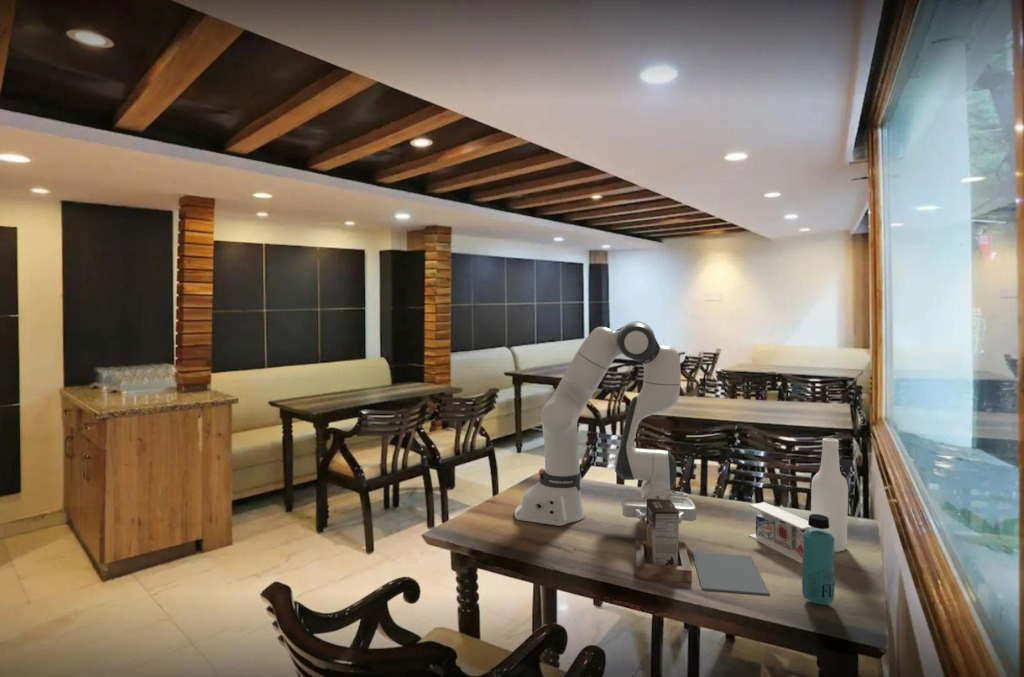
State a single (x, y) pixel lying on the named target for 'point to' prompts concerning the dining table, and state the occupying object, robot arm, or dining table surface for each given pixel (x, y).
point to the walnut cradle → (663, 571)
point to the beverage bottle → (818, 561)
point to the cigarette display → (780, 530)
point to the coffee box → (662, 532)
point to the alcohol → (831, 493)
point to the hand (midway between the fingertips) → (660, 519)
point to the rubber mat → (729, 573)
